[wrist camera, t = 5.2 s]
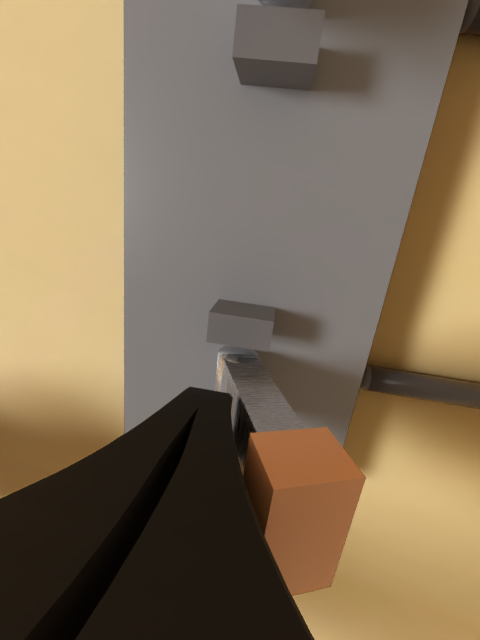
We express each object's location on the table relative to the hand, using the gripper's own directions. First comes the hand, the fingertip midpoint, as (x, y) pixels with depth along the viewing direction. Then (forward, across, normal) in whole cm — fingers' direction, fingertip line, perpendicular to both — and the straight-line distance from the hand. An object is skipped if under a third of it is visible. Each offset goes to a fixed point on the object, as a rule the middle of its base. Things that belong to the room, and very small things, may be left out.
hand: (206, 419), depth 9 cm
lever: (+2, 0, 0) cm, 2 cm away
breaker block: (+5, -4, -6) cm, 9 cm away
